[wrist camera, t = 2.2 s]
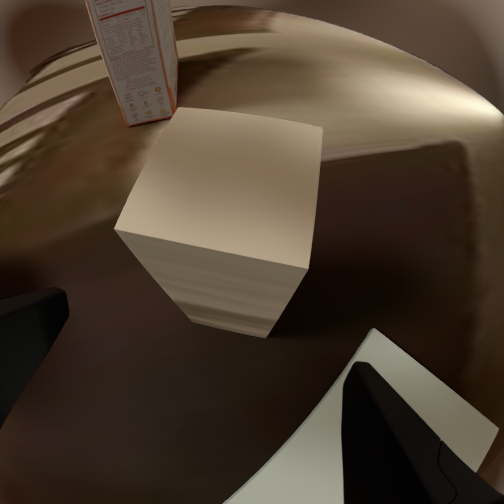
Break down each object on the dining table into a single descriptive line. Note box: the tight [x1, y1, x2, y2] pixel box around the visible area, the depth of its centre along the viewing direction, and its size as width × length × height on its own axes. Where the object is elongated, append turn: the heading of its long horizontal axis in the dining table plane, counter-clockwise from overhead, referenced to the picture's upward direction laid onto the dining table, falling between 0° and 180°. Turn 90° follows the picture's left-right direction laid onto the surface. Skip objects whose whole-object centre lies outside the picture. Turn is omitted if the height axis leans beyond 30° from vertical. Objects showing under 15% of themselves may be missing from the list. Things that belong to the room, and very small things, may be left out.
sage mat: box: [223, 328, 499, 504], centre depth 13 cm, size 18×18×1 cm
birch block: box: [114, 107, 323, 338], centre depth 14 cm, size 5×5×13 cm
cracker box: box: [85, 0, 178, 127], centre depth 20 cm, size 14×6×21 cm, turn 9°
